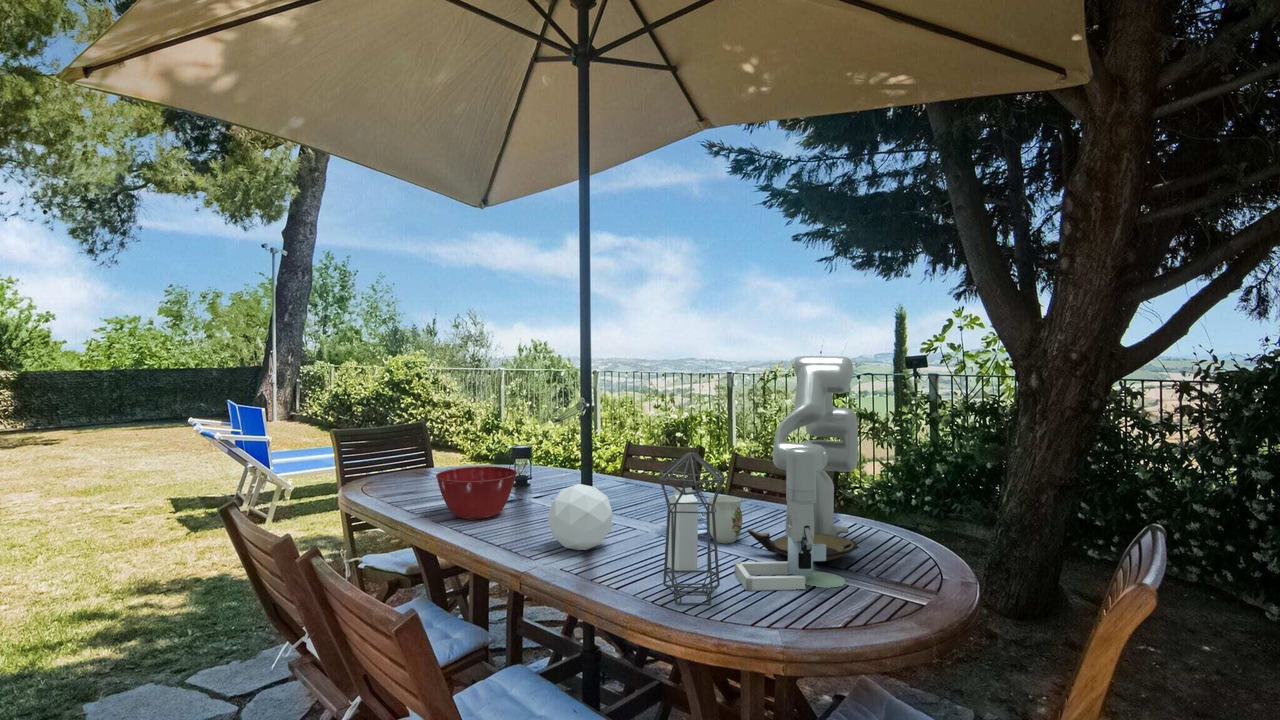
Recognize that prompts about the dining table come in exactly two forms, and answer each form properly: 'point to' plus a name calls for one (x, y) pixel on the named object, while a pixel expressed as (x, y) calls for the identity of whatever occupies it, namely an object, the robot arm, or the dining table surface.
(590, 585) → the dining table surface
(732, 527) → the pitcher
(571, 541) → the ball
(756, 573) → the holder
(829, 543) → the oil lamp
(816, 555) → the jug
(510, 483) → the mixing bowl
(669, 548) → the milk
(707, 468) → the geometric lantern
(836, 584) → the mat
